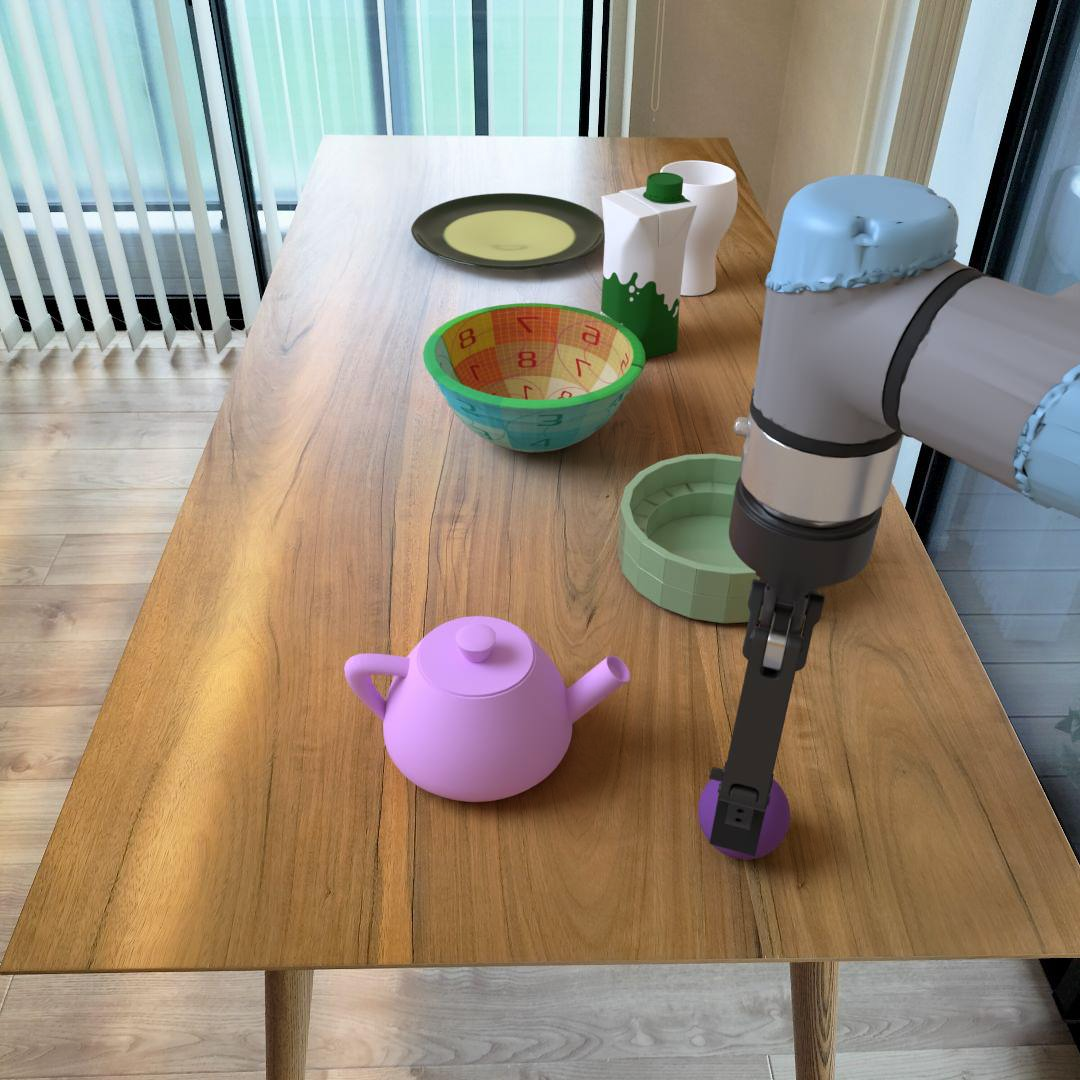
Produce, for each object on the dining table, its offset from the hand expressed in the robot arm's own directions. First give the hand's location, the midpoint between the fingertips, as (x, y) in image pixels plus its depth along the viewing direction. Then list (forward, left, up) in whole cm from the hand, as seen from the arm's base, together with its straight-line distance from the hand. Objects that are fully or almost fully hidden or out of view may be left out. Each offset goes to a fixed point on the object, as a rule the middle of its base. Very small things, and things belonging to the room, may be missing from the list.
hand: (751, 761), depth 69 cm
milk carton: (+55, -47, -8) cm, 73 cm away
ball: (0, 0, -8) cm, 8 cm away
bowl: (+48, -24, -8) cm, 54 cm away
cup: (+63, -65, -8) cm, 91 cm away
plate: (+89, -56, -8) cm, 105 cm away
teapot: (+18, +7, -8) cm, 21 cm away
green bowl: (+21, -22, -8) cm, 31 cm away
